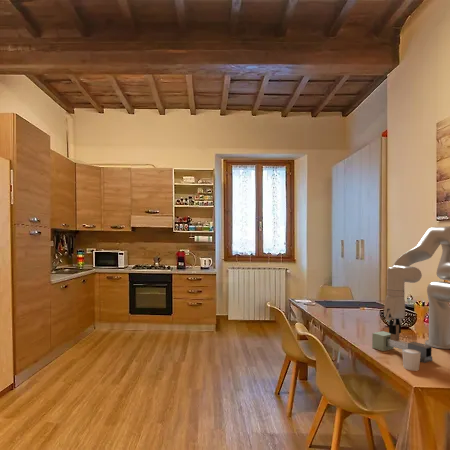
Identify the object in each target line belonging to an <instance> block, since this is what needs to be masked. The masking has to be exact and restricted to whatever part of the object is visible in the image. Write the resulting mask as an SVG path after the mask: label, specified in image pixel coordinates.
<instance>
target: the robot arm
mask: <svg viewBox="0 0 450 450" xmlns="http://www.w3.org/2000/svg"><path fill="white" fill-rule="evenodd" d="M440 246H441V249H442V252H441V256H440V258H439V263H438V264H437V265H438V266H437V268H436V276H437V278H438V279H440V280H441V281H440V280H439V281H438V280H434V281H431V282H429V284H427V287H426V294H427V299H428V339H427V340H425V341H424V344H425V345H429V346H432V348H437V349H441V350H443V349H444V350H450V304H449V303H450V226H449V225H447V226H432V227H429V228H428V229H426V231H425V233H424V234H423V235H422V237H421V238H420V239H419V241H418V242H417V243H416V245H415V246H414V247H413V248H411V249H409V250H408V251H406V252H404V253H403V254H401V255H400V256H399V257H398V258H397V259H396V260H395V261H394V263H393V264H392V266H388V267H387V269H386V296H385V301H384V306H383V307H384V308H383V310H384V311H383V317H384V318H385V321H386V322H387V323H388V333H391V334H396V326H395V324H398V325H399V334H401V333H402V323H403V320H404V319H405V316H406V303H405V302H406V300H405V284H406V283H412V284H414V283H418V282H419V281H420V280H421V279H422V276H423V275H422V274H423V273H422V271H421V270H420V268H418V267H416V266H411V265H413V264H416V263H421V262H424V261H426V260H429V259H431V258H432V257H433V256H434V255H435V252H436V251H437V250H438V249H439V247H440ZM442 280H443V281H442Z"/></svg>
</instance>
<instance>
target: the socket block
mask: <svg viewBox="0 0 450 450" xmlns="http://www.w3.org/2000/svg"><path fill="white" fill-rule="evenodd" d="M371 337H372V340H371V341H372V344H371V347H372V349H374V350H379V351H381V352H386V351H390V350H394V349H395V347H392V346H388V345H386V338H387V337H391V333H389V331H388V332H387V331H384V330H382V331H376V332H372V334H371Z"/></svg>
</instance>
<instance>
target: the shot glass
mask: <svg viewBox="0 0 450 450" xmlns="http://www.w3.org/2000/svg"><path fill="white" fill-rule="evenodd" d="M401 353H402V354H401V355H402V365H403V369H405V370H407V371H414V372H417V371H419V370H420V355H421V352H420V351H417V350H413V349H403V350H402V349H401Z"/></svg>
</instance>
